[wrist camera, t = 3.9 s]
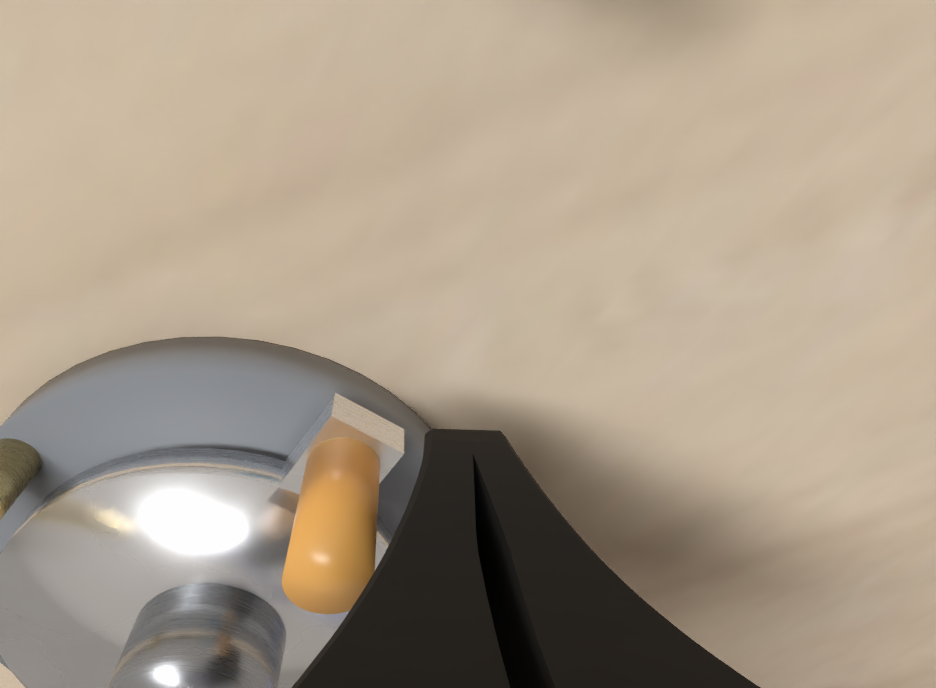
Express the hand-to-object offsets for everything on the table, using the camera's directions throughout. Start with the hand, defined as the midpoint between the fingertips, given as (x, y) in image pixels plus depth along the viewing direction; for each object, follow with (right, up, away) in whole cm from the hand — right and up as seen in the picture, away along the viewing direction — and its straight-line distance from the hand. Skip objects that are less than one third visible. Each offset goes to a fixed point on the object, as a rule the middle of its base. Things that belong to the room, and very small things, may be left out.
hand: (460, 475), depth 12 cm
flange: (-5, -3, +3) cm, 7 cm away
